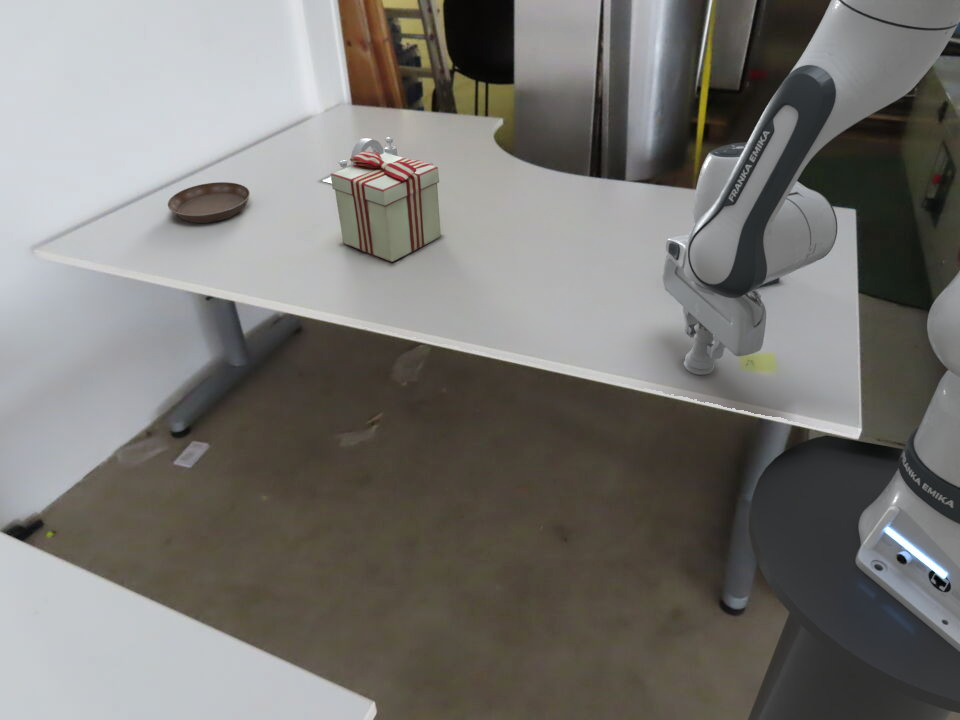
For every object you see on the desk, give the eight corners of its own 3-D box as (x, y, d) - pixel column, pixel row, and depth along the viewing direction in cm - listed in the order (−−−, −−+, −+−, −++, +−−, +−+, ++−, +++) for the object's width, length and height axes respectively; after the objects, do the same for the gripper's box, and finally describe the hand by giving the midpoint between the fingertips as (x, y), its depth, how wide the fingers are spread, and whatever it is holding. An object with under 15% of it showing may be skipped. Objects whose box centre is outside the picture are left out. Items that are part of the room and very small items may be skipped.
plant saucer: (267, 207, 158) (264, 194, 156) (196, 234, 148) (191, 221, 146) (227, 188, 168) (224, 175, 167) (157, 212, 158) (153, 199, 156)
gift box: (454, 229, 146) (449, 148, 136) (397, 266, 134) (387, 180, 124) (391, 211, 154) (382, 134, 144) (333, 245, 142) (318, 163, 132)
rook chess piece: (695, 355, 108) (703, 311, 103) (720, 368, 105) (729, 323, 100) (677, 367, 106) (684, 322, 101) (701, 380, 103) (710, 335, 98)
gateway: (346, 186, 166) (341, 153, 161) (339, 184, 167) (334, 152, 162) (397, 159, 179) (394, 128, 174) (390, 158, 180) (387, 127, 175)
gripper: (787, 295, 87) (764, 381, 95) (698, 227, 103) (685, 307, 111) (743, 304, 86) (724, 392, 94) (660, 234, 102) (650, 314, 110)
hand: (702, 345), depth 103 cm, fingers open, 4 cm apart
